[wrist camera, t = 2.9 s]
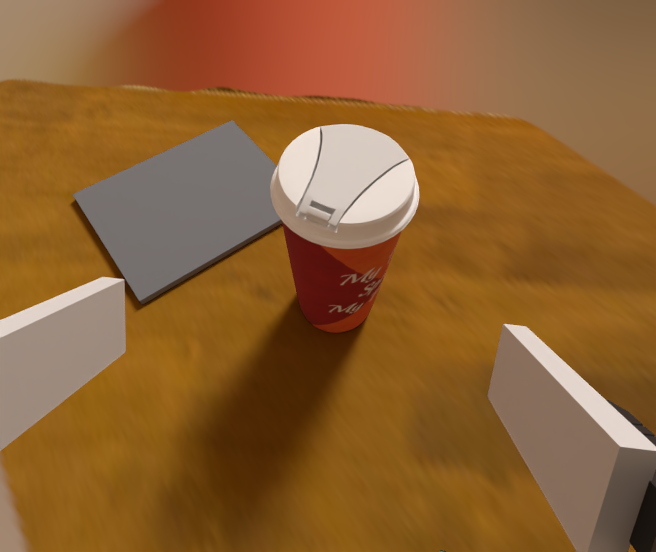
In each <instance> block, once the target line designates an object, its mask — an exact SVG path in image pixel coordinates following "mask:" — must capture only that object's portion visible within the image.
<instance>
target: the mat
mask: <svg viewBox="0 0 656 552" xmlns="http://www.w3.org/2000/svg"><path fill="white" fill-rule="evenodd" d="M276 167H277V166H276V165H275V164H274V163H273V162H272V161H271V160H270V159H269V158H268V157H267V156H266V155H265V154H264V152H263V151H262V150H261V149H260V148H259V147H258V146H257V145H256V144H255V143H254V142H253V141H252V140H251V139H250V138H249V137H248V136H247V135H246V134H245V133H244V132H243V131H242V130H241V129H240V128H239V127H238V126H237V125H236V124H235V122H234V121H233V120H232V121H230V122H227V123H225V124H223V125H221V126H219V127H217V128H215V129H212V130H210V131H208V132H206V133H204V134H202V135H199V136H197V137H195V138H193V139H191V140H189V141H187V142H184V143H182V144H180V145H178V146H176V147H174V148H171V149H169V150H167V151H165V152H163V153H161V154H159V155H156V156H154V157H152V158H150V159H148V160H146V161H144V162H141V163H139V164H137V165H135V166H133V167H131V168H128V169H126V170H124V171H122V172H120V173H118V174H116V175H113V176H111V177H109V178H107V179H105V180H103V181H100V182H98V183H96V184H94V185H92V186H90V187H88V188H85V189H83V190H81V191H79V192H77V193H75V194H73V196H74V197H75V199H76V201H77V202H78V204H79V205H80V207H81V209H82V210H83V212H84V213H85V215H86V217H87V218H88V220H89V221H90V223H91V225H92V226H93V228H94V229H95V231H96V233H97V234H98V236H99V237H100V239H101V241H102V242H103V244H104V245H105V247H106V249H107V250H108V252H109V253H110V255H111V257H112V258H113V260H114V261H115V263H116V265H117V266H118V268H119V269H120V271H121V273H122V274H123V276H124V277H125V279H126V281H127V282H128V284H129V285H130V287H131V289H132V290H133V292H134V293H135V295H136V297H137V298H138V300H139V301H140V303H141V304H142V305H143V304H145V303H146V302H148V301H150V300H151V299H153V298H155V297H157V296H158V295H160V294H162V293H163V292H165V291H167V290H169V289H170V288H172V287H174V286H175V285H177V284H179V283H181V282H182V281H184V280H186V279H188V278H189V277H191V276H193V275H194V274H196V273H198V272H200V271H201V270H203V269H205V268H206V267H208V266H210V265H212V264H213V263H215V262H217V261H218V260H220V259H222V258H224V257H225V256H227V255H229V254H230V253H232V252H234V251H236V250H237V249H239V248H241V247H243V246H244V245H246V244H248V243H249V242H251V241H253V240H255V239H256V238H258V237H260V236H261V235H263V234H265V233H267V232H268V231H270V230H272V229H273V228H275V227H277V226H279V225H280V224H282V220H281V219H280V217H279V216H278V214H277V213H276V210H275V208H274V206H273V203H272V199H271V189H270V186H271V180H272V176H273V174H274V171H275V169H276Z"/></svg>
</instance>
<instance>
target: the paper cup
mask: <svg viewBox="0 0 656 552" xmlns="http://www.w3.org/2000/svg"><path fill="white" fill-rule="evenodd" d="M320 128H321V129H320ZM270 189H271V199H272V203H273V206H274V208H275V210H276V213H277V214H278V216H279V217H280V219H281V220H282V223H283V228H284V233H285V238H286V243H287V248H288V253H289V258H290V263H291V268H292V273H293V278H294V283H295V287H296V292H297V296H298V300H299V304H300V307H301V310H302V312H303V314H304V316H305V318H306V319H307V320H308V321H309V322H310V323H311V324H312V325H313V326H315V327H316V328H318V329H320V330H323V331H326V332H332V333H341V332H346V331H349V330H352V329H354V328H356V327H357V326H358V325H360V324H361V323H362V322H363V321H364V320H365V318H366V317H367V315H368V314H369V312H370V310H371V307H372V305H373V303H374V301H375V298H376V296H377V293H378V291H379V288H380V286H381V283H382V280H383V278H384V275H385V273H386V270H387V268H388V265H389V262H390V260H391V257H392V255H393V252H394V249H395V247H396V244H397V242H398V239H399V236H400V234H401V231H402V230H403V229H404V228H405V227H406V226H407V224H408V223H409V222H410V221H411V219H412V217H413V216H414V214H415V211H416V209H417V206H418V201H419V186H418V183H417V179H416V176H415V172H414V168H413V164H412V162H411V160H410V159H409V157H408V156H407V154H406V153H405V152H404V151H403V149H402V148H401V147H400V146H399V145H398V144H397V143H396V142H395V141H394V140H392V139H391V138H390V137H388V136H386V135H385V134H383V133H381V132H378V131H376V130H373V129H370V128H367V127H363V126H358V125H350V124H339V125H329V126H321V127H317V128H314V129H312V130H309V131H307V132H305V133H303V134H302V135H300V136H299V137H297V138H296V139H295V140H293V141H292V142H291V143H290V145H289V146H288V147H287V148H286V149H285V151H284V153H283V154H282V156H281V158H280V161H279V163H278V166H277V167H276V169H275V171H274V174H273V176H272V180H271V186H270Z"/></svg>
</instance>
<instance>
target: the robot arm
mask: <svg viewBox="0 0 656 552" xmlns="http://www.w3.org/2000/svg"><path fill="white" fill-rule="evenodd" d="M125 352H126V346H125V282H124V279H117V278H109V277H102V278H99V279H97V280H94V281H92V282H90V283H87V284H85V285H83V286H80V287H78V288H76V289H73V290H71V291H68V292H66V293H64V294H61V295H59V296H57V297H54V298H52V299H50V300H47V301H45V302H42V303H40V304H38V305H35V306H33V307H31V308H28V309H26V310H23V311H21V312H19V313H16V314H14V315H12V316H9V317H7V318H5V319H2V320H0V451H1V450H2V449H3V448H5V447H6V446H7V445H8V444H10V443H11V442H12V441H13V440H15V439H16V438H17V437H18V436H20V435H21V434H22V433H24V432H25V431H26V430H27V429H29V428H30V427H31V426H32V425H34V424H35V423H36V422H37V421H39V420H40V419H41V418H43V417H44V416H45V415H46V414H48V413H49V412H50V411H51V410H53V409H54V408H55V407H56V406H58V405H59V404H60V403H62V402H63V401H64V400H65V399H67V398H68V397H69V396H70V395H72V394H73V393H74V392H76V391H77V390H78V389H79V388H81V387H82V386H83V385H84V384H86V383H87V382H88V381H89V380H91V379H92V378H93V377H95V376H96V375H97V374H98V373H100V372H101V371H102V370H103V369H105V368H106V367H107V366H108V365H110V364H111V363H112V362H114V361H115V360H116V359H117V358H119V357H120V356H121V355H122V354H124V353H125ZM488 399H489V400H490V402H491V404H492V406H493V407H494V409H495V411H496V413H497V414H498V416H499V418H500V419H501V421H502V423H503V425H504V426H505V428H506V430H507V432H508V433H509V435H510V437H511V439H512V440H513V442H514V444H515V446H516V447H517V449H518V451H519V452H520V454H521V456H522V458H523V459H524V461H525V463H526V465H527V466H528V468H529V470H530V472H531V473H532V475H533V477H534V478H535V480H536V482H537V484H538V485H539V487H540V489H541V491H542V492H543V494H544V496H545V498H546V499H547V501H548V503H549V504H550V506H551V508H552V510H553V511H554V513H555V515H556V517H557V518H558V520H559V522H560V524H561V525H562V527H563V529H564V531H565V532H566V534H567V536H568V537H569V539H570V541H571V543H572V544H573V546H574V548H575V550H576V551H577V552H628V550H629V547H630V544H631V545H632V546H633V548H634V549H635V550H636V552H656V437H654V434H653V433H652V432H651V431H649V430H648V429H647V428H646V427H643V424H642V423H640V422H639V421H638V420H637V419H636V418H635V417H634V416H633V415H631V414H630V413H629V412H628V411H626V410H624V409H623V408H621V407H619V406H618V405H616V404H614V403H612V402H611V401H609V400H605V399H604V398H603V397H602V396H601V395H600V394H599V393H597V392H596V391H595V390H594V389H593V388H592V387H591V386H590V385H589V384H588V383H587V382H586V381H584V380H583V379H582V378H581V377H580V376H579V375H578V374H577V373H576V372H575V371H574V370H573V369H572V368H570V367H569V366H568V365H567V364H566V363H565V362H564V361H563V360H562V359H561V358H560V357H559V356H557V355H556V354H555V353H554V352H553V351H552V350H551V349H550V348H549V347H548V346H547V345H546V344H544V343H543V342H542V341H541V340H540V339H539V338H538V337H537V336H536V335H535V334H534V333H533V332H531V331H530V330H529V329H528V328H527V327H526V326H518V325H509V324H503V327H502V332H501V336H500V341H499V346H498V350H497V355H496V359H495V364H494V369H493V373H492V378H491V383H490V387H489V392H488Z"/></svg>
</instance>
